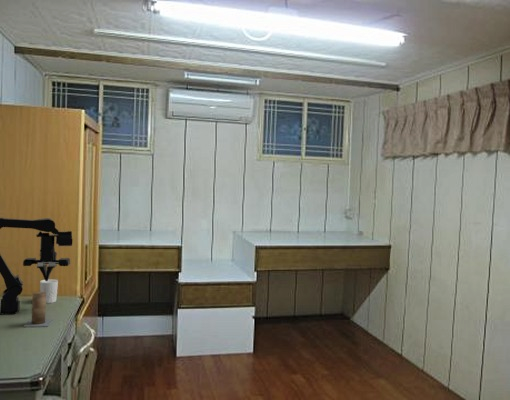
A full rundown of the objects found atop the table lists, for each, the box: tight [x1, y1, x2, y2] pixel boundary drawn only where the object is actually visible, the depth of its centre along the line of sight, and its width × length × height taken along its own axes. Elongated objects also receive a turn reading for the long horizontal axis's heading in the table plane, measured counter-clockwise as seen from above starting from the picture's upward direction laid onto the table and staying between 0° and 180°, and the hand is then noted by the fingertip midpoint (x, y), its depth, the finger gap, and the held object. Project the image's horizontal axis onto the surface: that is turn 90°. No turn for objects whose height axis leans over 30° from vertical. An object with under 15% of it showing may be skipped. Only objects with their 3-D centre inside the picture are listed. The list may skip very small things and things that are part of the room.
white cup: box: [39, 278, 59, 304], centre depth 222 cm, size 8×8×10 cm
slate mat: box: [23, 318, 54, 328], centre depth 189 cm, size 9×9×1 cm
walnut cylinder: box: [31, 291, 47, 324], centre depth 189 cm, size 5×5×12 cm
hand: (46, 280), depth 209 cm, fingers closed
